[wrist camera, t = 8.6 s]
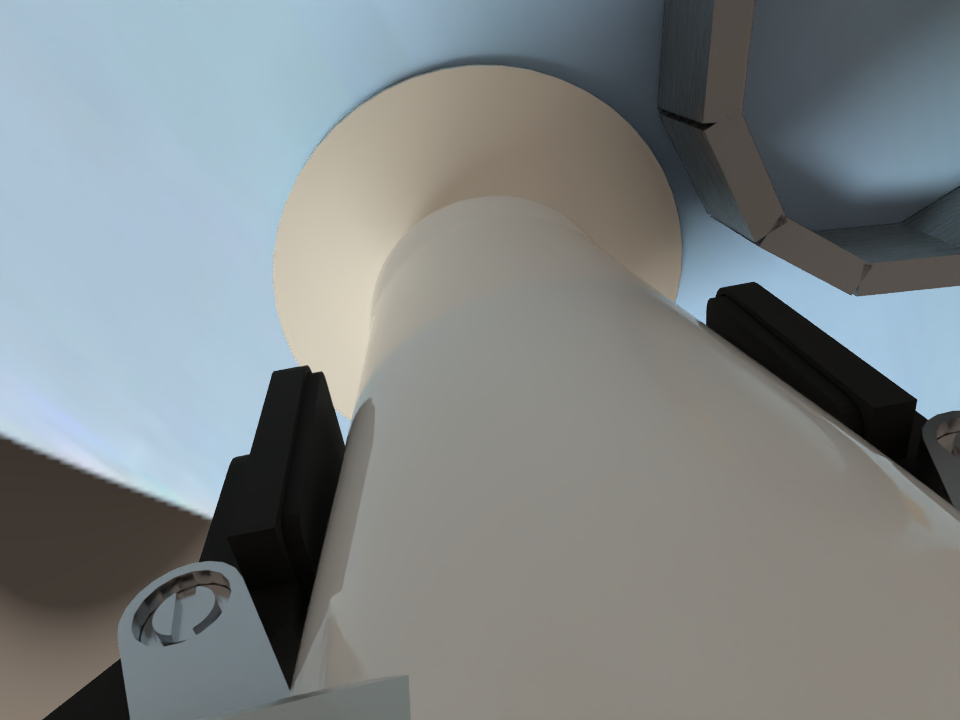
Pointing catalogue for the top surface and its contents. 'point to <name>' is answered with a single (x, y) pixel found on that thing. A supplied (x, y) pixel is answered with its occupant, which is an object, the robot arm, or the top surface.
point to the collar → (744, 180)
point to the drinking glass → (611, 507)
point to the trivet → (456, 194)
